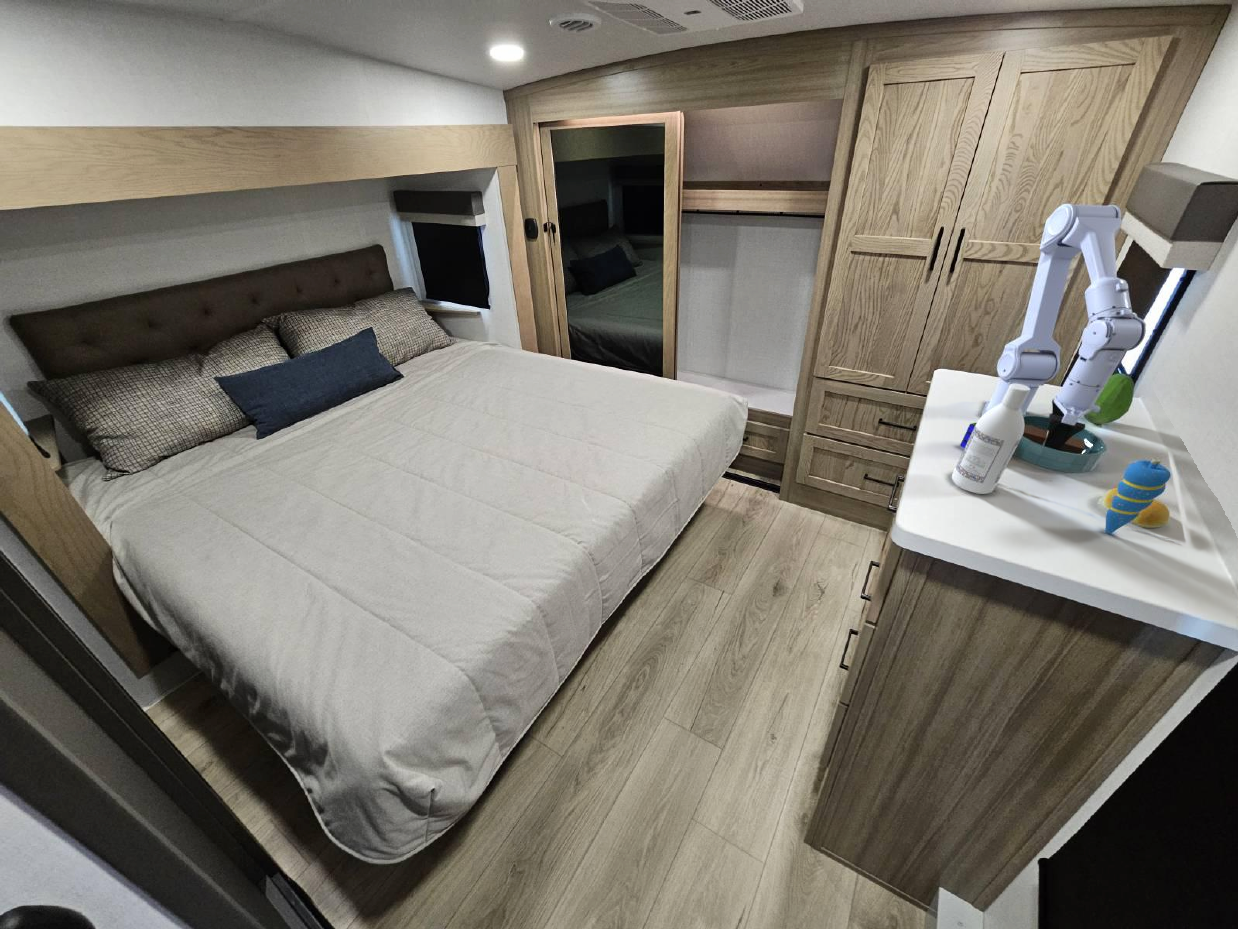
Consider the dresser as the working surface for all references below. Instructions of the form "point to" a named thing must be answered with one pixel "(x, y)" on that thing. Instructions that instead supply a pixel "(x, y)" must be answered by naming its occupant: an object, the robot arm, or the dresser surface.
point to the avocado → (1113, 400)
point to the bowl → (1059, 458)
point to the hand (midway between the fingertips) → (1051, 442)
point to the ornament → (1136, 492)
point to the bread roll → (1148, 517)
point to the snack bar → (1040, 437)
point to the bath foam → (992, 443)
